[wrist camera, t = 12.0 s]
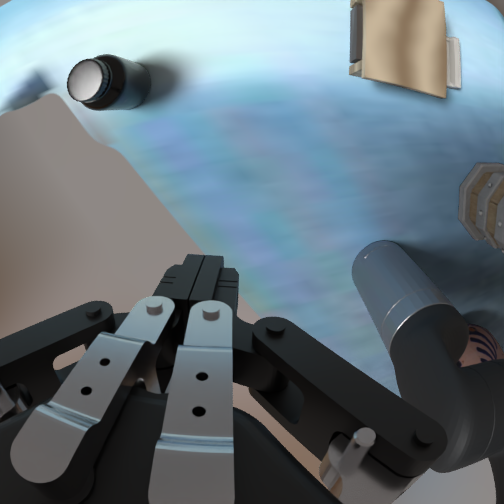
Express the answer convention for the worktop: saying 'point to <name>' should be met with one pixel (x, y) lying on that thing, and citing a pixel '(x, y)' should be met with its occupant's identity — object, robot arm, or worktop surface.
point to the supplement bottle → (109, 83)
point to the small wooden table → (400, 43)
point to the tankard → (484, 203)
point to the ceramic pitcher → (480, 347)
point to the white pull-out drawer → (453, 63)
